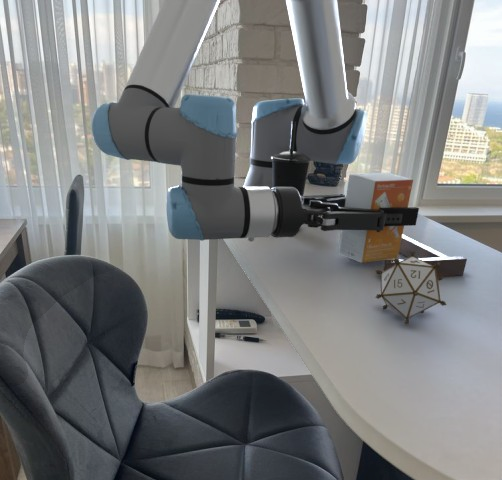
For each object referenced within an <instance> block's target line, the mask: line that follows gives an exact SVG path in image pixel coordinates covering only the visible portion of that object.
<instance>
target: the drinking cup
mask: <svg viewBox="0 0 502 480" xmlns="http://www.w3.org/2000/svg"><path fill="white" fill-rule="evenodd" d="M295 125H296V122H292V130H291V142H290V151H283V152H280V153H278V154H276V155H274V156H271V160H272V172H273V187H294V188H296V189H297V190H298V192H299V194H300V196H304V193H305V188H306V184H307V183H306V182H307V176H308V171H309V166H310V163H311V162H312V161H311V159H310V158H308V157H307V156H305V155H304V154H302V153H300V152H296V151H293V149H294V137H295Z"/></svg>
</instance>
